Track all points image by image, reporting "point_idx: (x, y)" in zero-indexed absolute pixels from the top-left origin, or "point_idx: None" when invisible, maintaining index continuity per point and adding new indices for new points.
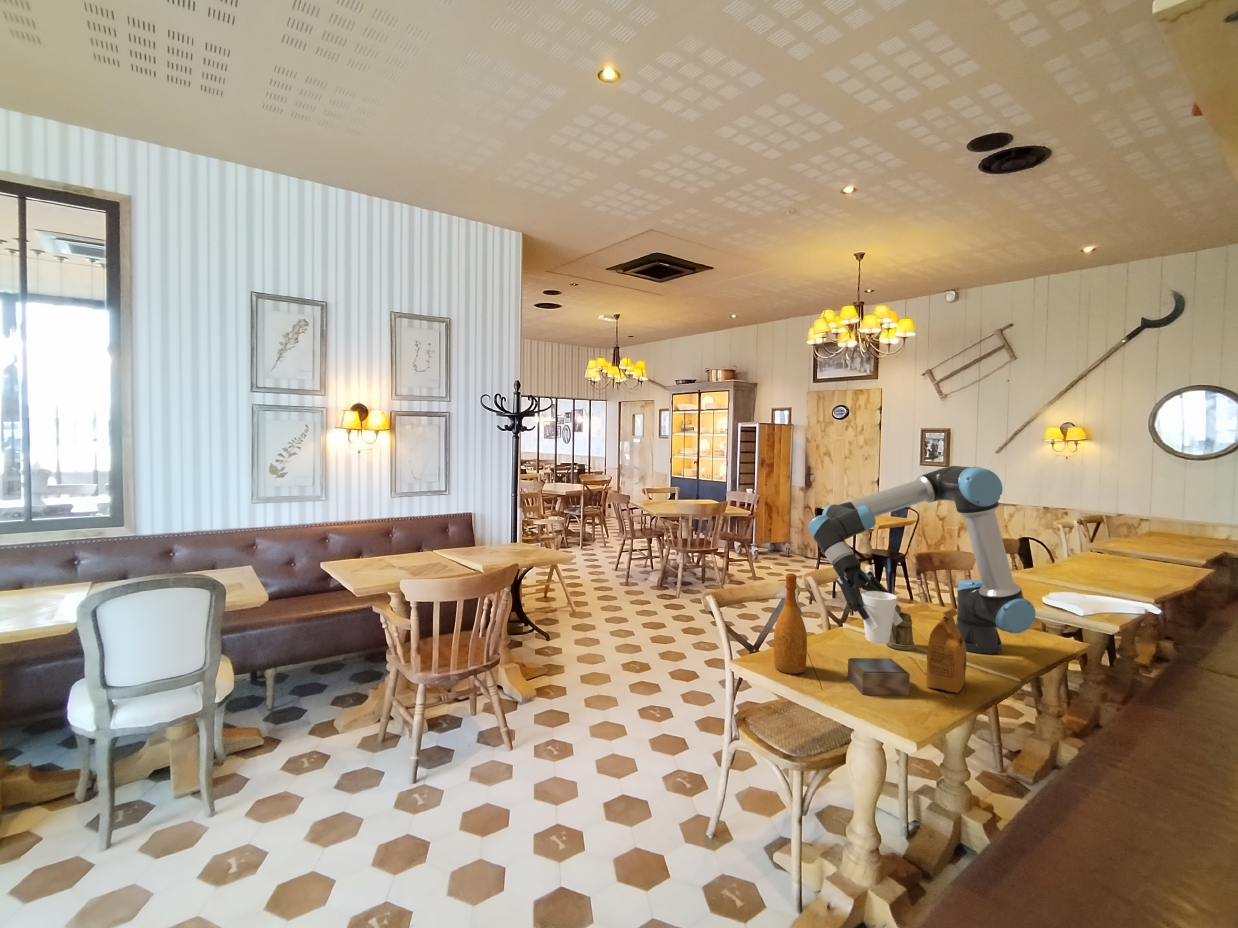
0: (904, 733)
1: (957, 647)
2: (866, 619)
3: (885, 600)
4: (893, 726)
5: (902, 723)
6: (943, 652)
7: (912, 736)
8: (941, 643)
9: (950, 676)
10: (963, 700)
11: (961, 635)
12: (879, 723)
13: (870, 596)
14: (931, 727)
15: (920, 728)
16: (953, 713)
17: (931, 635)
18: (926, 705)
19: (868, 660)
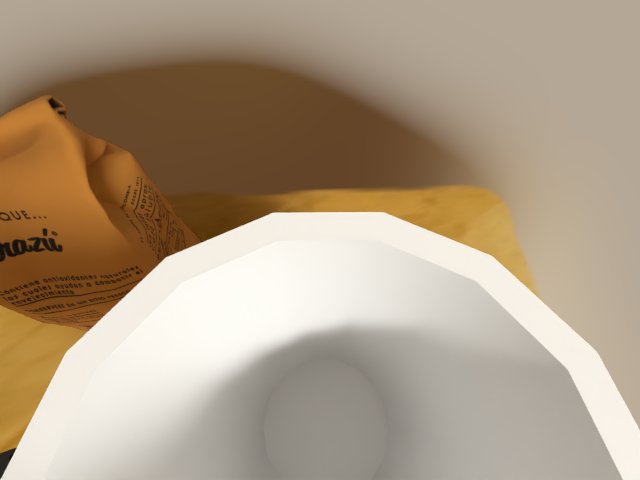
0: (498, 212)
1: (137, 161)
2: None
3: (477, 257)
4: (495, 240)
5: (463, 237)
6: (153, 220)
7: (492, 197)
8: (128, 215)
9: (182, 236)
10: (218, 219)
11: None
12: (516, 265)
13: None
14: (419, 196)
15: (445, 205)
16: (311, 201)
17: (122, 234)
18: None
19: None
